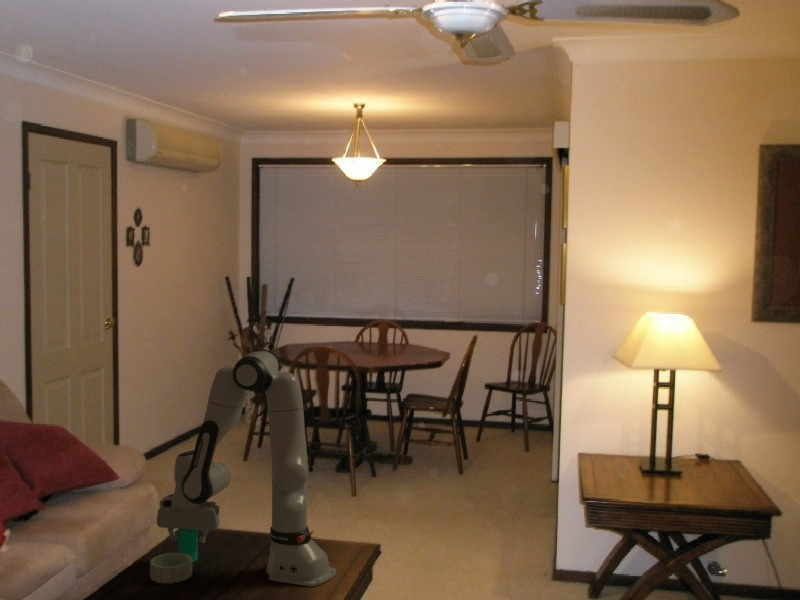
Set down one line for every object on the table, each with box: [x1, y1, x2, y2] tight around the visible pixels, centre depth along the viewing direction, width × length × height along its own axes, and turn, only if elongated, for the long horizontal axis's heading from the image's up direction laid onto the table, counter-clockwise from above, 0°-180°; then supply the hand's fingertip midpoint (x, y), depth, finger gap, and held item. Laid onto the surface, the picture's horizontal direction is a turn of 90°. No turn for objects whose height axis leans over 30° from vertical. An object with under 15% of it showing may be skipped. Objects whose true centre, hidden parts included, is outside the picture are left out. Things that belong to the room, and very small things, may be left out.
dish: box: [149, 552, 193, 584], centre depth 265 cm, size 12×12×5 cm
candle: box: [178, 529, 199, 563], centre depth 277 cm, size 6×6×12 cm
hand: (188, 541), depth 277 cm, fingers open, 8 cm apart
